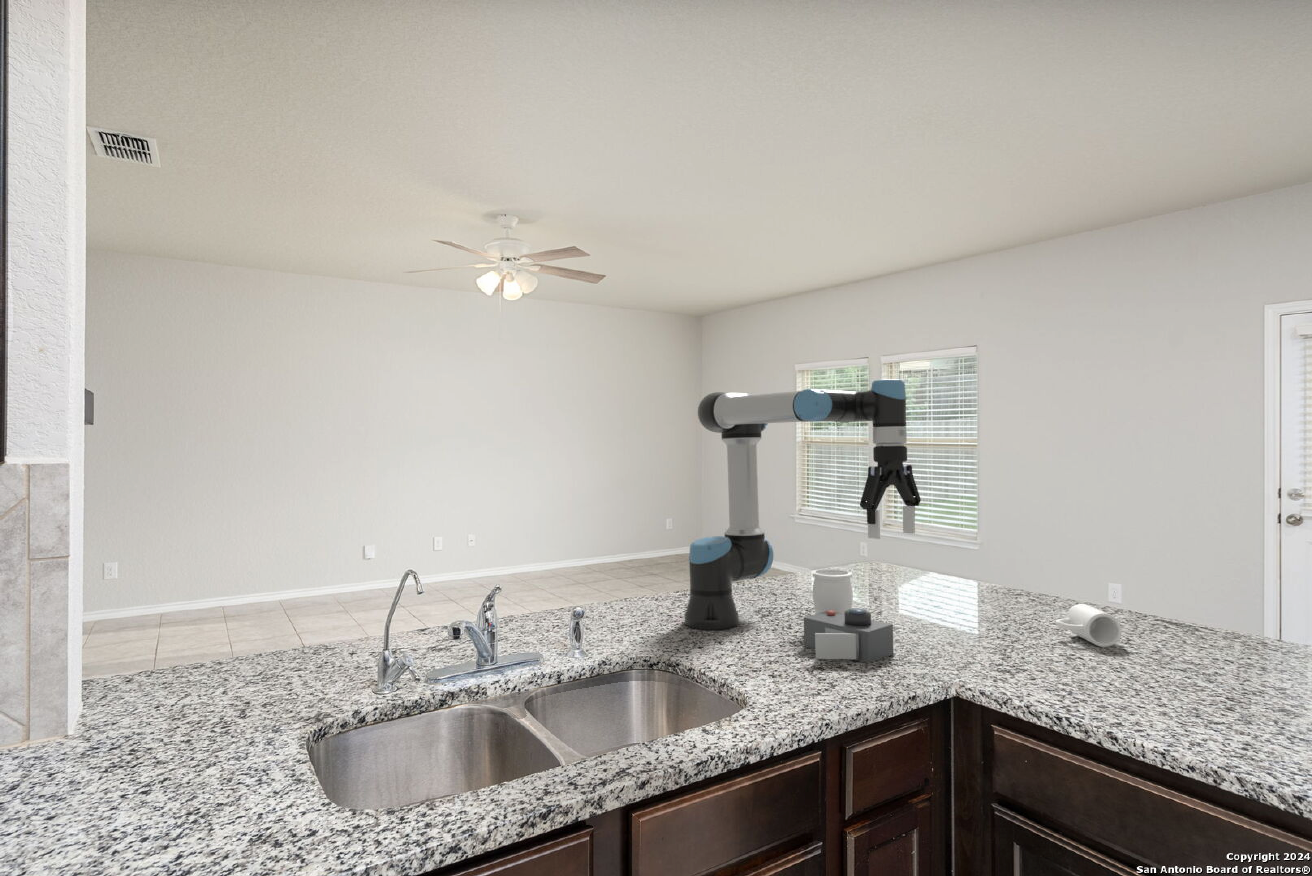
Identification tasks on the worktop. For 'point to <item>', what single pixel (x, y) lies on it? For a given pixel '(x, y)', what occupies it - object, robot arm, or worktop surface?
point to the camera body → (853, 631)
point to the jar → (832, 590)
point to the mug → (1092, 625)
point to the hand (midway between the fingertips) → (892, 535)
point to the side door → (837, 645)
